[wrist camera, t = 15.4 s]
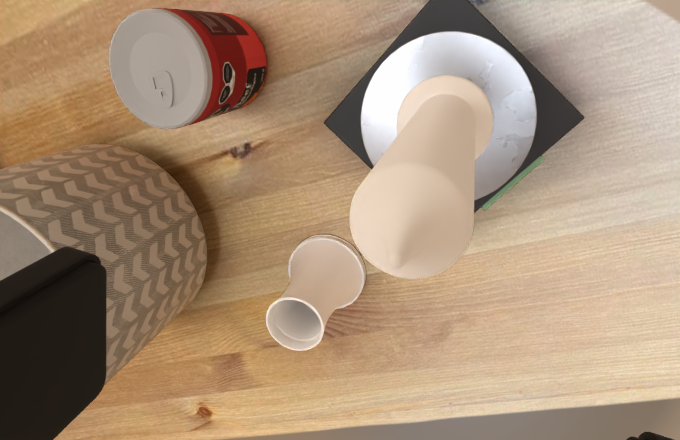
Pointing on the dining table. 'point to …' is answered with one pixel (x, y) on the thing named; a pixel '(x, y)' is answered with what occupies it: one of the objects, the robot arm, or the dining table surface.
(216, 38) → the canned food
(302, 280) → the vase
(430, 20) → the scale
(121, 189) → the planter
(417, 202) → the candle
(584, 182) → the dining table surface
